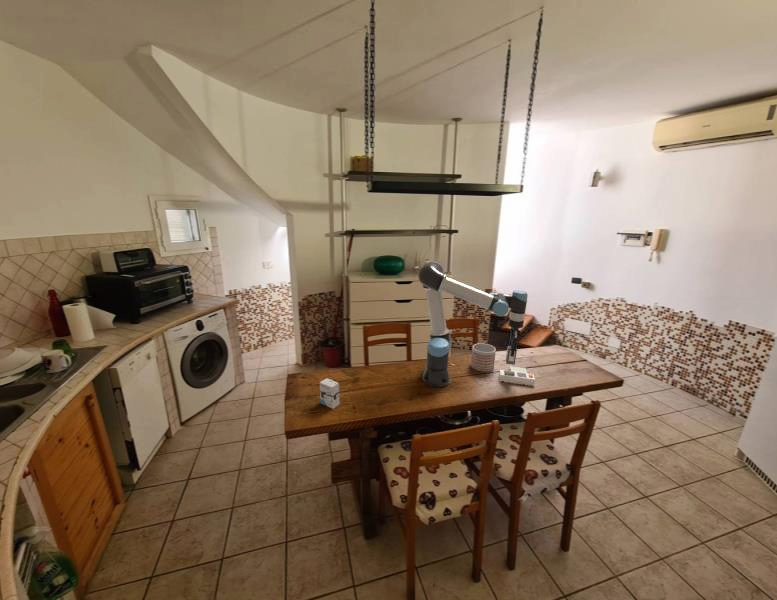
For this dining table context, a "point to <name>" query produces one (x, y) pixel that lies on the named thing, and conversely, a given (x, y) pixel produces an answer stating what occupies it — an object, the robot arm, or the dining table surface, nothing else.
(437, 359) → the robot arm
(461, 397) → the dining table surface
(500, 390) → the dining table surface
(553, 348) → the dining table surface
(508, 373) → the power strip
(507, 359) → the charger
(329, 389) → the ink box
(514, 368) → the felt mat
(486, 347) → the planter
